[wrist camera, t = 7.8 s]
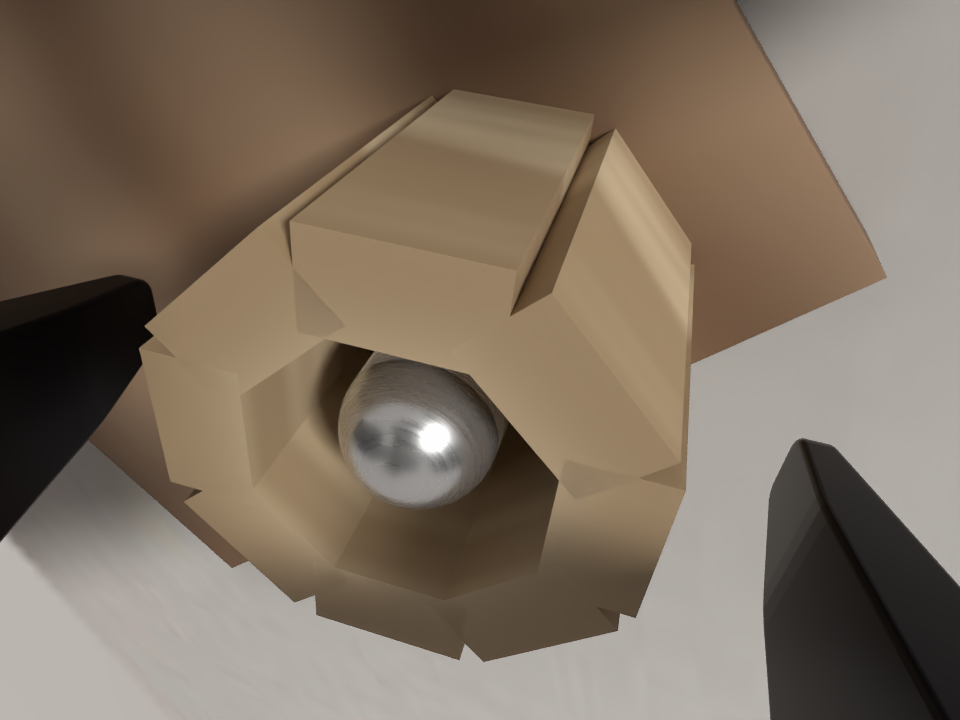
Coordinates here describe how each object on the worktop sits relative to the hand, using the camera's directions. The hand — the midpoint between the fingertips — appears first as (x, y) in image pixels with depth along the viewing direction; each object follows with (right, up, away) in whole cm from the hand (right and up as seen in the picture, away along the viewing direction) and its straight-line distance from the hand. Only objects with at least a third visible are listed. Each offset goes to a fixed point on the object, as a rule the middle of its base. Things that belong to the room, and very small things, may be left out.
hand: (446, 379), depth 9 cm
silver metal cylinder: (+1, +2, +2) cm, 3 cm away
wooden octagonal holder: (+1, +2, +2) cm, 3 cm away
